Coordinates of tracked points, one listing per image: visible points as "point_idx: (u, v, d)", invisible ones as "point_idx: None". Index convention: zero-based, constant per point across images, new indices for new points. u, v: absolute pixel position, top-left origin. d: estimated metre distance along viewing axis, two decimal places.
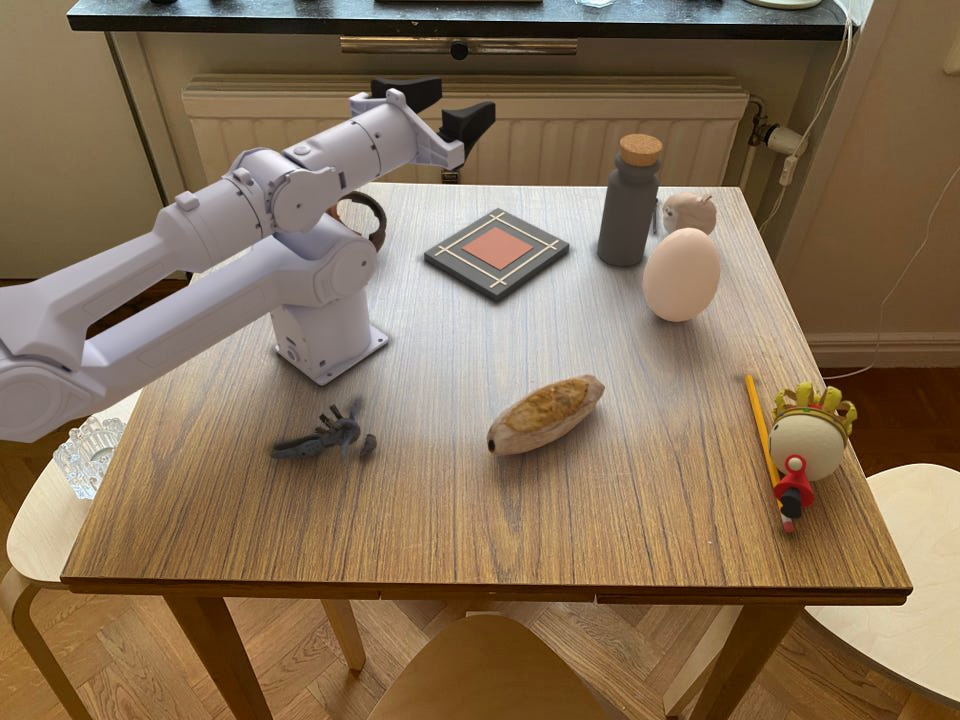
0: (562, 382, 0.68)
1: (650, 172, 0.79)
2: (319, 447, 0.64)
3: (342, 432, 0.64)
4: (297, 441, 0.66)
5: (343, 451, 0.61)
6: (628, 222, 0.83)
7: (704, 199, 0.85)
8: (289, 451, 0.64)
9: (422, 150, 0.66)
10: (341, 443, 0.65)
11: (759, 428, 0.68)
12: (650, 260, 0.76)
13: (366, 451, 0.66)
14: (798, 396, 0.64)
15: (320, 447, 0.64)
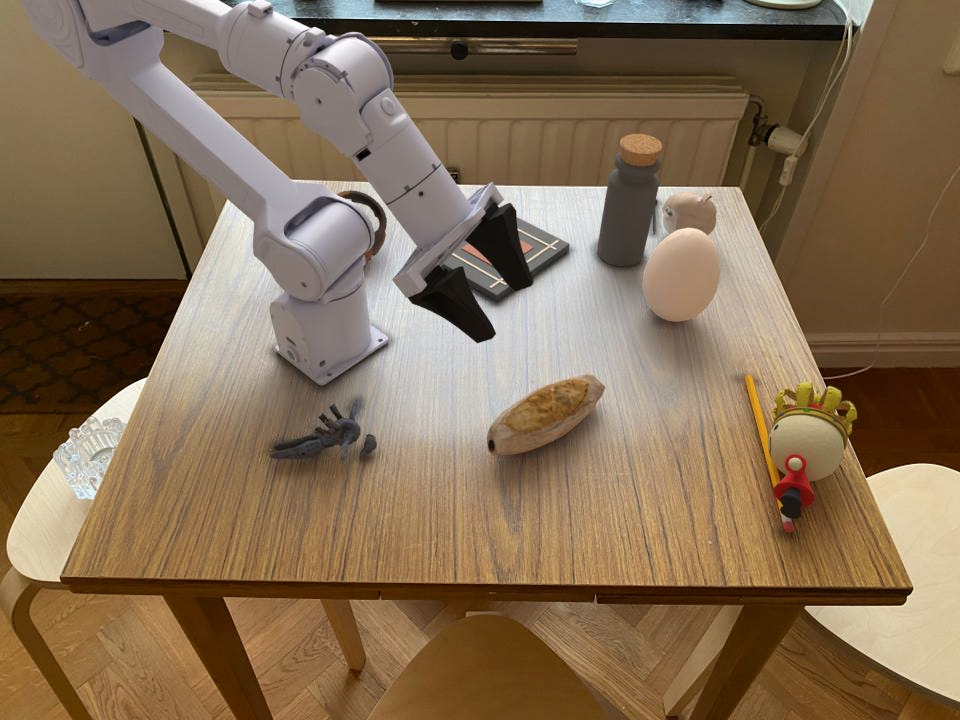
0: (562, 382, 0.68)
1: (650, 172, 0.79)
2: (319, 447, 0.64)
3: (342, 432, 0.64)
4: (297, 441, 0.66)
5: (343, 451, 0.61)
6: (628, 222, 0.83)
7: (704, 199, 0.85)
8: (289, 451, 0.64)
9: None
10: (341, 443, 0.64)
11: (759, 428, 0.68)
12: (650, 260, 0.76)
13: (366, 451, 0.66)
14: (798, 396, 0.64)
15: (320, 447, 0.64)
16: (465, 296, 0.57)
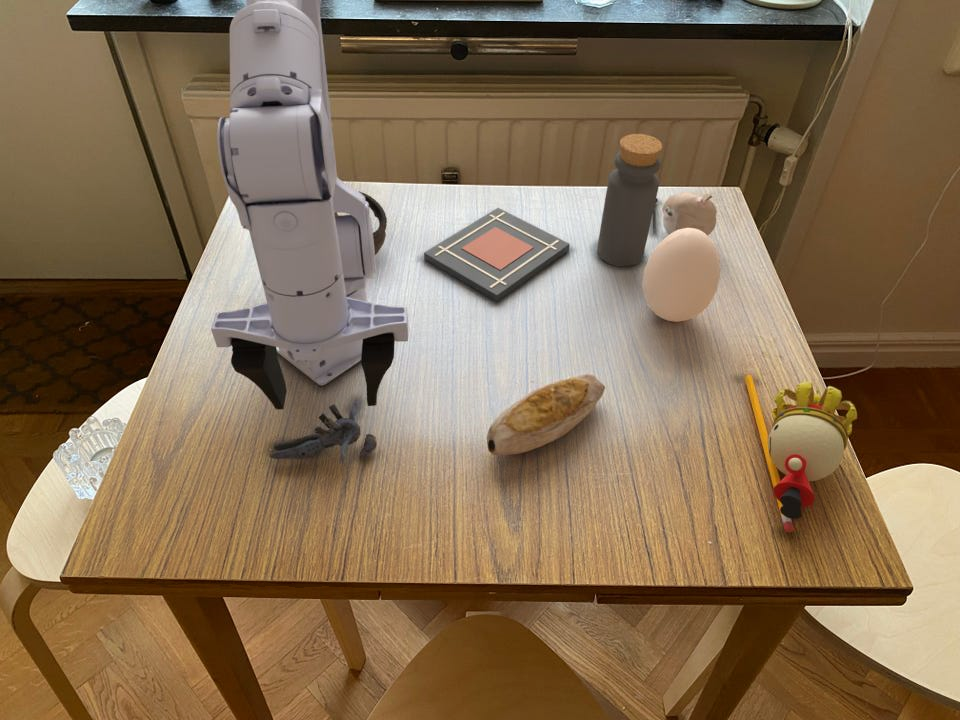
0: (562, 382, 0.68)
1: (650, 172, 0.79)
2: (319, 447, 0.64)
3: (342, 432, 0.64)
4: (297, 441, 0.66)
5: (343, 451, 0.61)
6: (628, 222, 0.83)
7: (704, 199, 0.85)
8: (289, 451, 0.64)
9: None
10: (341, 443, 0.64)
11: (759, 428, 0.68)
12: (650, 260, 0.76)
13: (366, 451, 0.66)
14: (798, 396, 0.64)
15: (320, 447, 0.64)
16: (256, 379, 0.55)
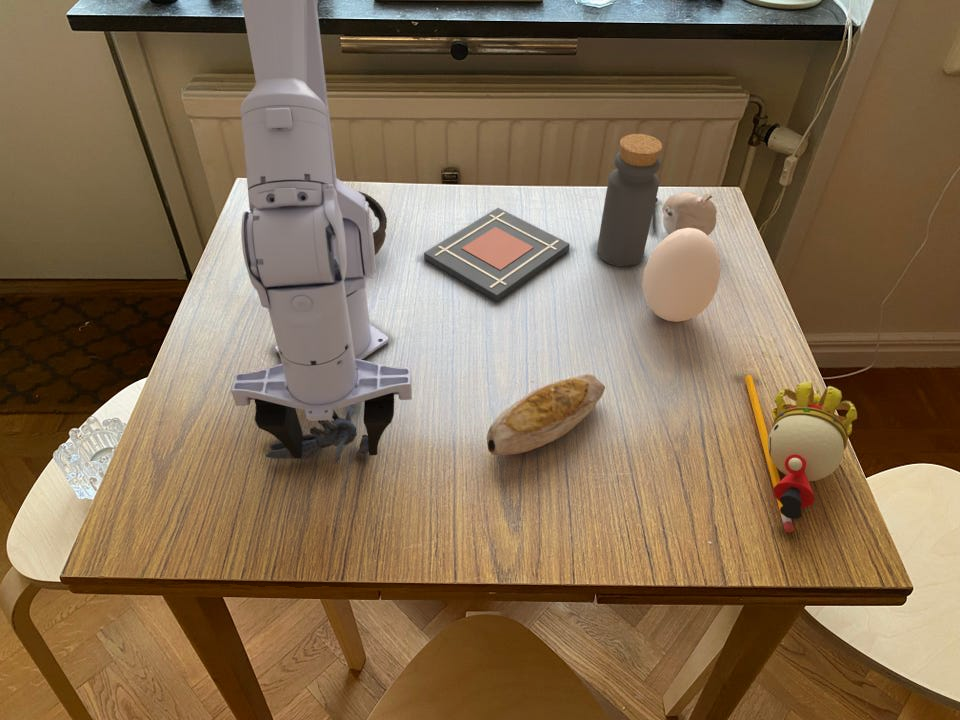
0: (562, 382, 0.68)
1: (650, 172, 0.79)
2: (315, 447, 0.64)
3: (338, 432, 0.64)
4: None
5: (338, 452, 0.61)
6: (628, 222, 0.83)
7: (704, 199, 0.85)
8: (285, 451, 0.64)
9: None
10: (337, 444, 0.64)
11: (759, 428, 0.68)
12: (650, 260, 0.76)
13: (362, 452, 0.66)
14: (798, 396, 0.64)
15: (316, 447, 0.64)
16: (278, 434, 0.60)
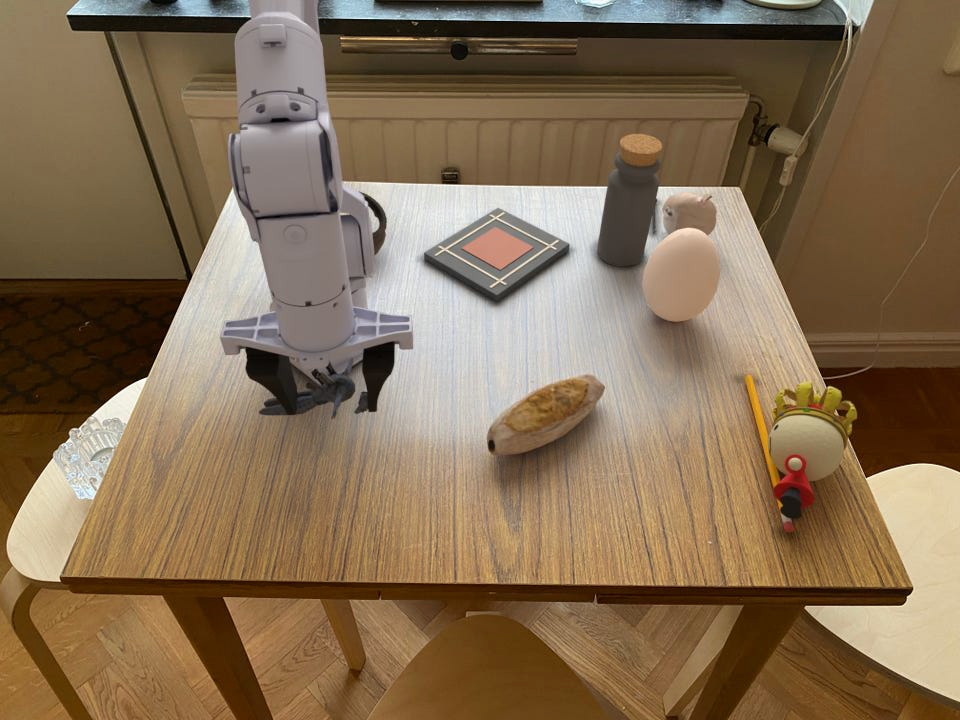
0: (562, 382, 0.68)
1: (650, 172, 0.79)
2: (311, 404, 0.61)
3: (336, 387, 0.60)
4: None
5: (335, 406, 0.57)
6: (628, 222, 0.83)
7: (704, 199, 0.85)
8: (279, 407, 0.61)
9: None
10: (334, 400, 0.61)
11: (759, 428, 0.68)
12: (650, 260, 0.76)
13: (361, 409, 0.62)
14: (798, 396, 0.64)
15: (312, 404, 0.61)
16: (270, 386, 0.56)
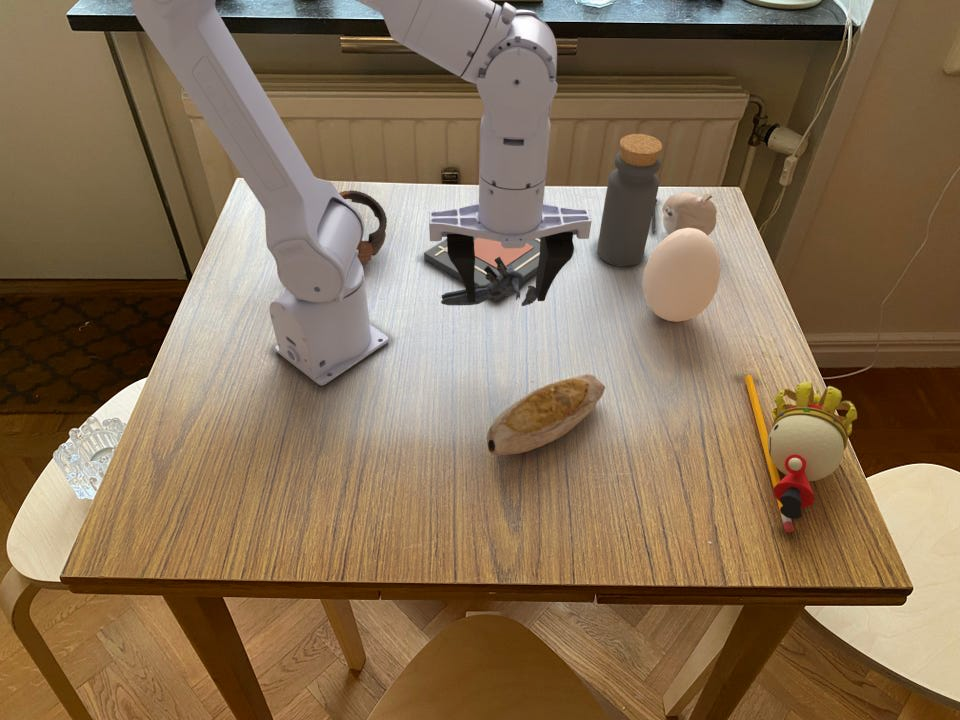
0: (562, 382, 0.68)
1: (650, 172, 0.79)
2: (487, 294, 0.70)
3: (510, 279, 0.69)
4: (464, 291, 0.71)
5: (517, 290, 0.66)
6: (628, 222, 0.83)
7: (704, 199, 0.85)
8: (459, 297, 0.69)
9: (475, 215, 0.64)
10: (507, 291, 0.70)
11: (759, 428, 0.68)
12: (650, 260, 0.76)
13: (528, 301, 0.71)
14: (798, 396, 0.64)
15: (487, 295, 0.70)
16: (464, 271, 0.65)
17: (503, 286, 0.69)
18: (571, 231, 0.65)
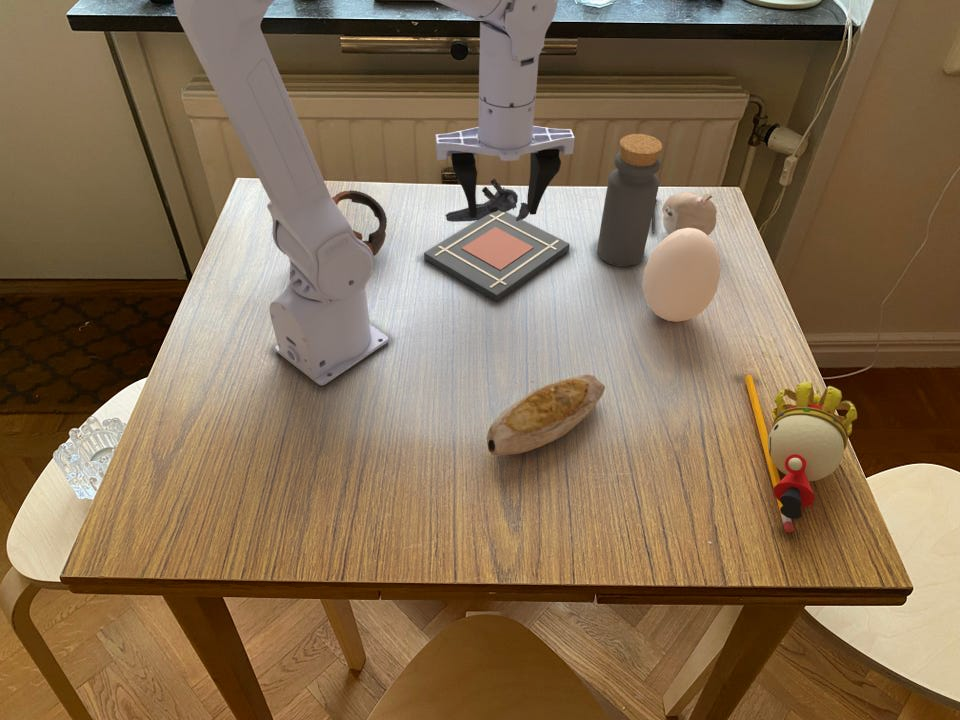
0: (562, 382, 0.68)
1: (650, 172, 0.79)
2: (486, 211, 0.80)
3: (506, 196, 0.79)
4: (465, 210, 0.81)
5: (513, 202, 0.76)
6: (628, 222, 0.83)
7: (704, 199, 0.85)
8: (462, 214, 0.80)
9: (475, 137, 0.74)
10: (503, 207, 0.80)
11: (759, 428, 0.68)
12: (650, 260, 0.76)
13: (521, 216, 0.81)
14: (798, 396, 0.64)
15: (486, 211, 0.80)
16: (467, 186, 0.75)
17: (500, 202, 0.80)
18: (557, 148, 0.75)
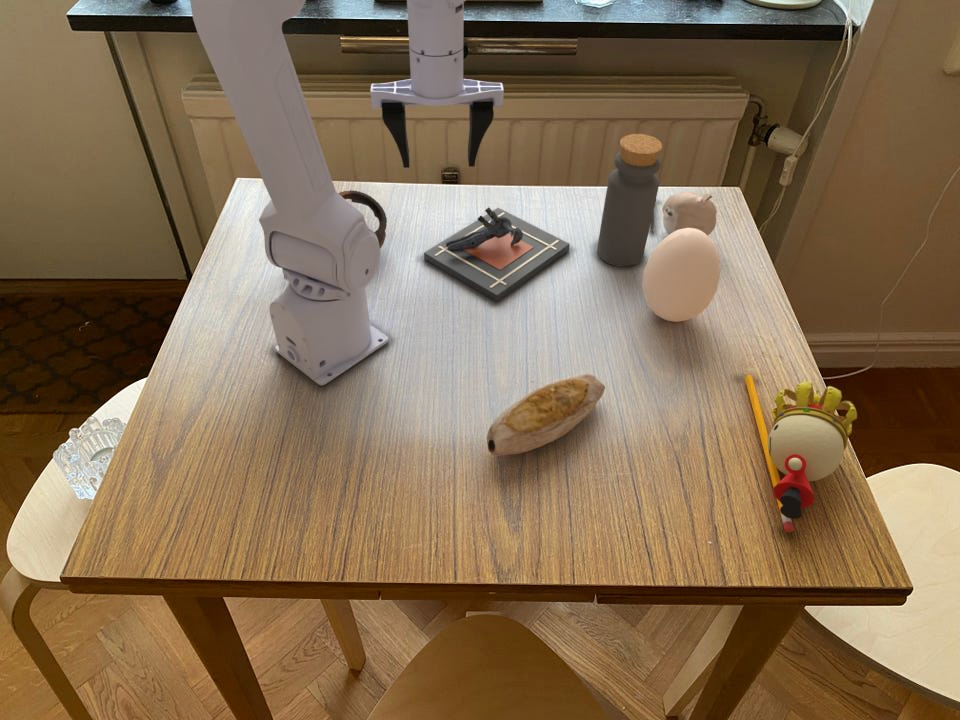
0: (562, 382, 0.68)
1: (650, 172, 0.79)
2: (483, 238, 0.86)
3: (501, 223, 0.86)
4: (463, 238, 0.87)
5: None
6: (628, 222, 0.83)
7: (704, 199, 0.85)
8: (462, 242, 0.86)
9: (465, 93, 0.77)
10: (499, 234, 0.87)
11: (759, 428, 0.68)
12: (650, 260, 0.76)
13: (515, 241, 0.88)
14: (798, 396, 0.64)
15: (484, 238, 0.86)
16: None
17: (496, 229, 0.86)
18: None
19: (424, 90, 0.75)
